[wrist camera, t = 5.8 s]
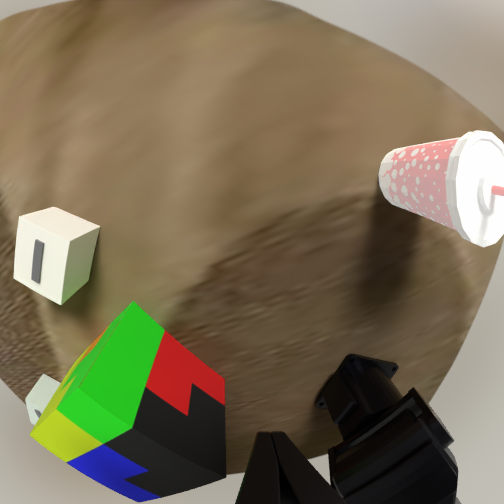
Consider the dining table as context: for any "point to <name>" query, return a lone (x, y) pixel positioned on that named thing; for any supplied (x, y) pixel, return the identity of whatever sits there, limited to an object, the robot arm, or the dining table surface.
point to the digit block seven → (40, 397)
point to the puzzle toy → (138, 413)
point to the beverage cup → (451, 184)
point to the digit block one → (54, 252)
